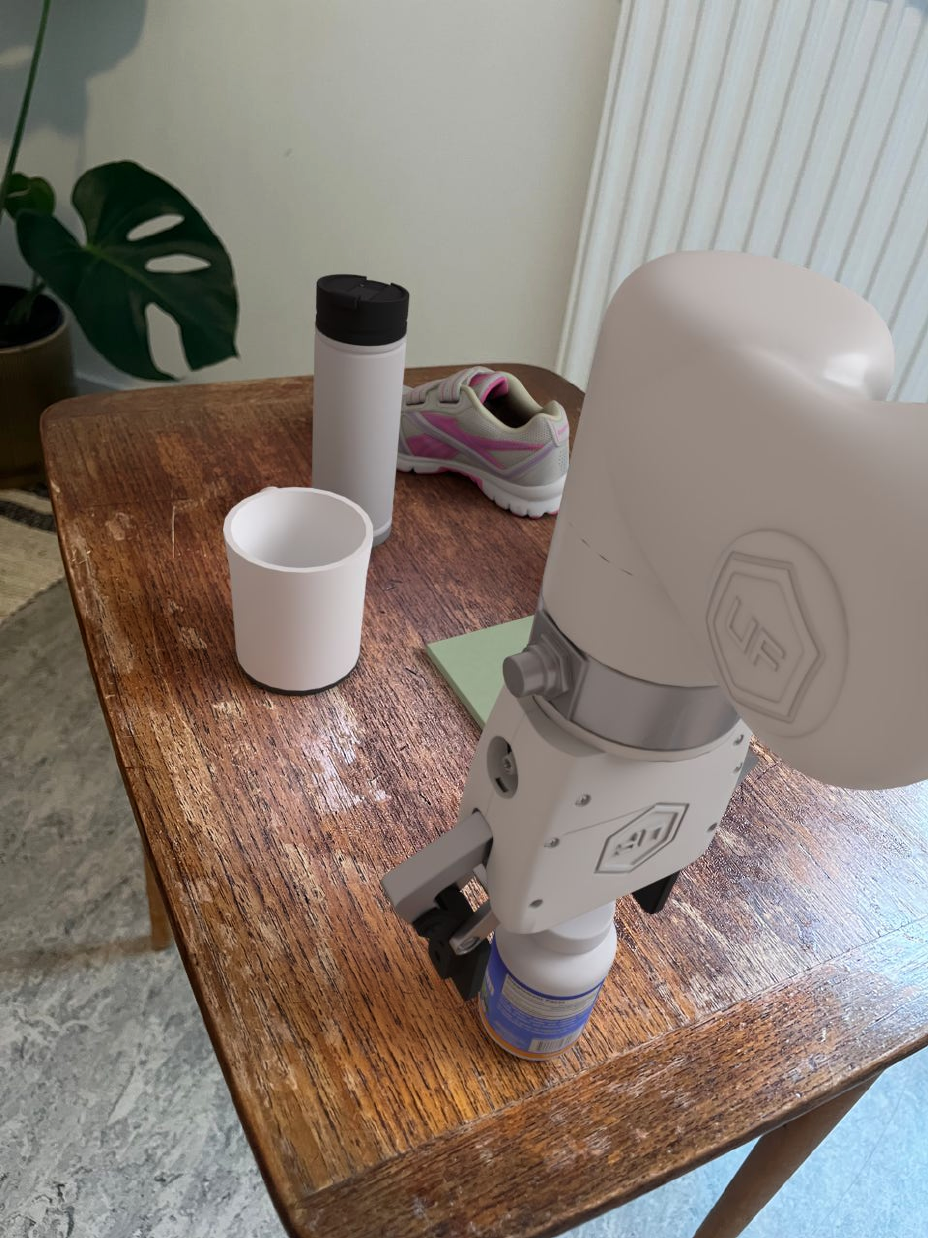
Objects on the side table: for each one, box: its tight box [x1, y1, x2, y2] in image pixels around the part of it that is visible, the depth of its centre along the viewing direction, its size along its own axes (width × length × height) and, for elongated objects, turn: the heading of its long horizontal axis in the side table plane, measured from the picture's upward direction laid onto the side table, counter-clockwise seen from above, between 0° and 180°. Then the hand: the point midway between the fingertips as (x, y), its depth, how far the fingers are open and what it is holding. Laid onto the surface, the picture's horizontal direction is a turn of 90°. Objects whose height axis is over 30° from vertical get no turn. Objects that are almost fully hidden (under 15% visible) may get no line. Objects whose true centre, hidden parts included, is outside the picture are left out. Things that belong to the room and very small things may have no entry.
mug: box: [222, 486, 373, 696], centre depth 62 cm, size 11×9×10 cm
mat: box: [425, 614, 535, 731], centre depth 64 cm, size 14×12×1 cm
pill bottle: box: [477, 900, 618, 1062], centre depth 44 cm, size 5×5×10 cm
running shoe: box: [396, 365, 570, 519], centre depth 82 cm, size 9×22×10 cm, turn 64°
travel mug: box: [311, 273, 411, 549], centre depth 69 cm, size 6×7×20 cm
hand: (548, 927), depth 43 cm, fingers open, 9 cm apart
